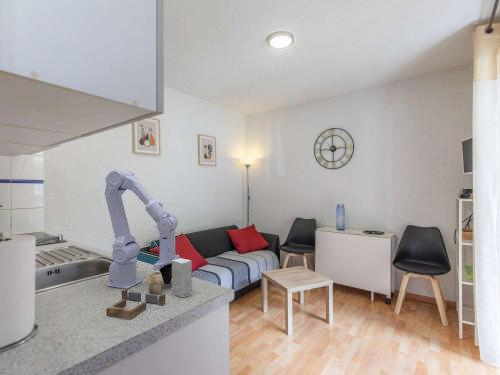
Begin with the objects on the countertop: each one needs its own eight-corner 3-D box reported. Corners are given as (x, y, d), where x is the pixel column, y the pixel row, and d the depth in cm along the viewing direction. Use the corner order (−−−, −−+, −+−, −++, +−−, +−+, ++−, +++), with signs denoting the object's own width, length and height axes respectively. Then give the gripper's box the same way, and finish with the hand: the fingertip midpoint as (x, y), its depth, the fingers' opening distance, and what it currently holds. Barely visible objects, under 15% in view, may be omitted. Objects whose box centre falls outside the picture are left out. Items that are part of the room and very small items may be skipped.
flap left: (126, 299, 88) (126, 291, 88) (128, 298, 89) (128, 290, 89) (139, 301, 87) (139, 293, 87) (141, 300, 88) (141, 292, 88)
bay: (106, 315, 77) (106, 307, 77) (123, 305, 84) (123, 297, 84) (130, 319, 75) (130, 311, 75) (146, 308, 82) (146, 301, 82)
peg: (146, 295, 92) (146, 275, 92) (153, 291, 96) (153, 271, 96) (156, 296, 91) (156, 276, 91) (163, 292, 95) (163, 272, 94)
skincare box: (192, 294, 93) (192, 260, 93) (182, 298, 90) (183, 263, 90) (180, 290, 97) (180, 257, 97) (171, 294, 93) (171, 260, 93)
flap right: (160, 303, 86) (160, 294, 86) (158, 304, 85) (158, 295, 85) (147, 301, 87) (147, 293, 87) (145, 302, 86) (145, 294, 86)
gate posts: (121, 299, 88) (121, 290, 88) (124, 297, 90) (124, 289, 90) (162, 305, 84) (162, 296, 84) (165, 303, 85) (165, 294, 85)
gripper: (165, 253, 92) (165, 292, 92) (186, 244, 106) (186, 278, 106) (148, 251, 94) (148, 289, 94) (170, 243, 108) (170, 276, 108)
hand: (167, 283), depth 100 cm, fingers closed
